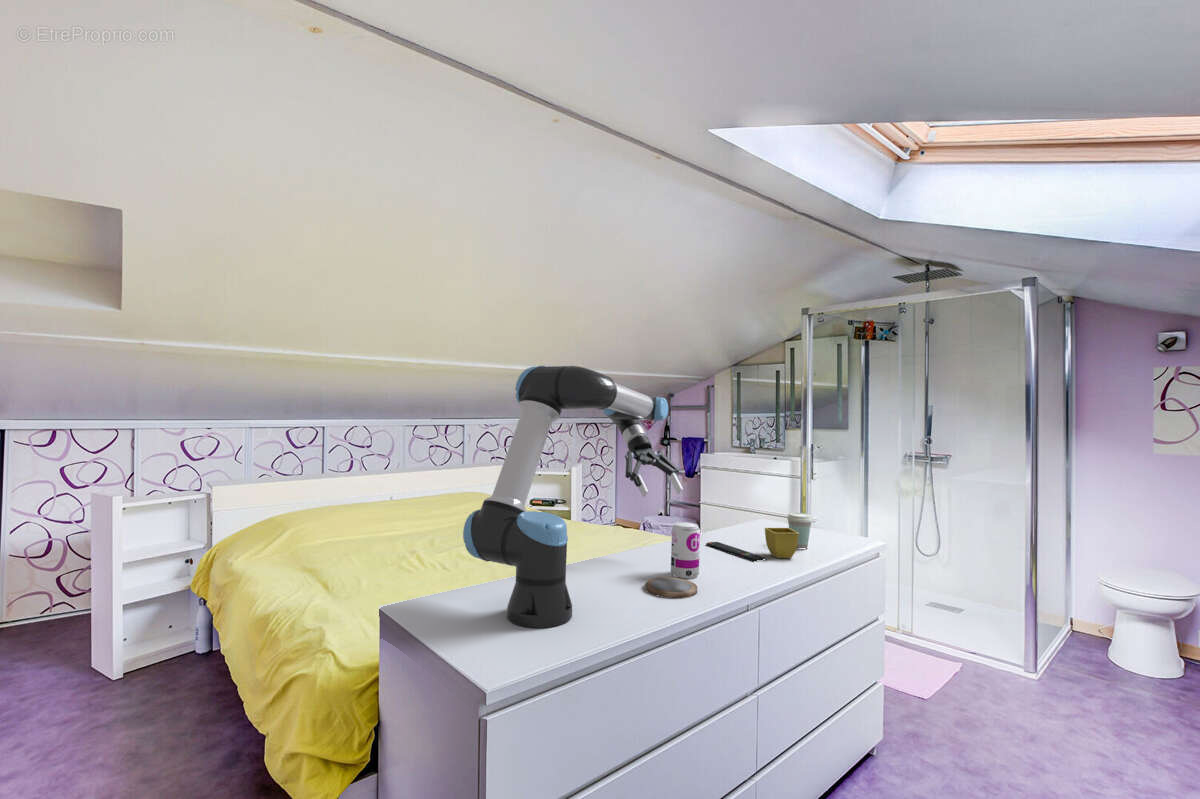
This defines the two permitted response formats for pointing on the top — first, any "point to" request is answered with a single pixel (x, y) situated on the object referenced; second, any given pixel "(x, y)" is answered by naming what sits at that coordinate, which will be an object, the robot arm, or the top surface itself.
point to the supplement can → (685, 550)
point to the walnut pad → (671, 587)
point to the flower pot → (781, 541)
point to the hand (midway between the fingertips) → (663, 492)
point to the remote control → (735, 551)
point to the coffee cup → (800, 527)
